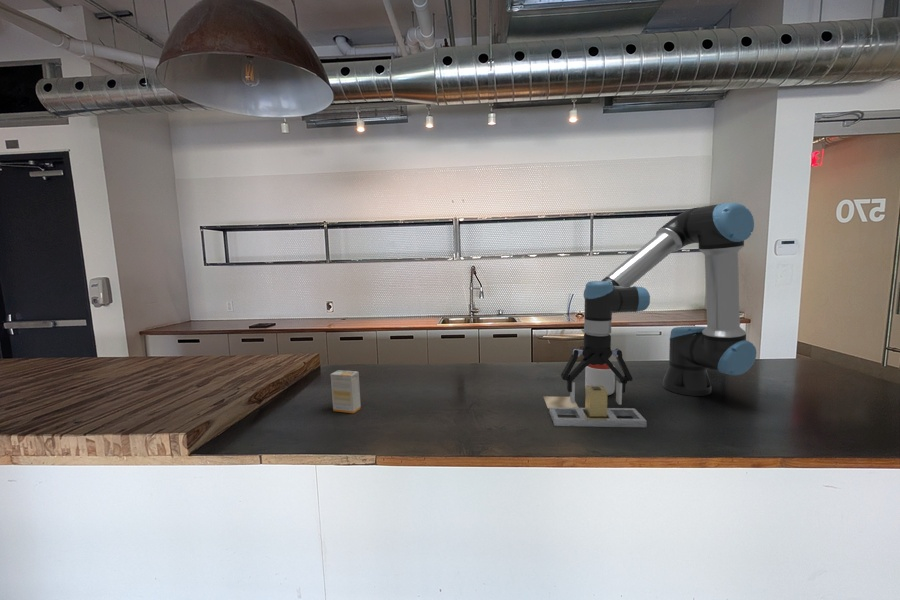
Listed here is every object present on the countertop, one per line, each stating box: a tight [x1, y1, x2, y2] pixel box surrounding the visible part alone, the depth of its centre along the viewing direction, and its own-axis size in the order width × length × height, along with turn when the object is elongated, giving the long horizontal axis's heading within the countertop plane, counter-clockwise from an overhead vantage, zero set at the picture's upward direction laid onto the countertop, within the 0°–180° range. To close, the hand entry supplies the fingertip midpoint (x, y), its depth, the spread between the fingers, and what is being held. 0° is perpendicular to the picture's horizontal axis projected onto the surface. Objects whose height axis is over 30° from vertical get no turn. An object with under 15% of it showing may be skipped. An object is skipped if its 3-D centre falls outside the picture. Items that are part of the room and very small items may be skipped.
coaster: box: [542, 396, 580, 410], centre depth 129 cm, size 10×10×1 cm
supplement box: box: [330, 369, 362, 414], centre depth 127 cm, size 8×5×13 cm, turn 71°
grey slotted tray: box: [549, 407, 648, 428], centre depth 115 cm, size 26×9×2 cm, turn 85°
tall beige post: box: [584, 386, 608, 418], centre depth 115 cm, size 5×5×10 cm
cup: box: [584, 363, 616, 397], centre depth 138 cm, size 10×10×10 cm
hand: (595, 402), depth 115 cm, fingers open, 13 cm apart
